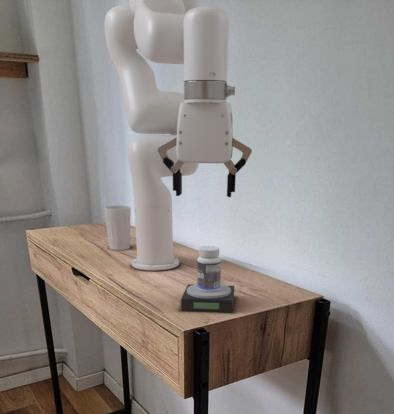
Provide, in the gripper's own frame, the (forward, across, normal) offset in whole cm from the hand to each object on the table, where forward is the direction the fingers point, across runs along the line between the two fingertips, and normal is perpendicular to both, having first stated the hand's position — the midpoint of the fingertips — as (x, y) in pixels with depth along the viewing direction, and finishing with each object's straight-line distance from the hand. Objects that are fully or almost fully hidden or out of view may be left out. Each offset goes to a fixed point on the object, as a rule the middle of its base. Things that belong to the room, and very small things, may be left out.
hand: (203, 195), depth 92 cm
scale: (+21, -1, +2) cm, 21 cm away
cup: (+23, +30, -48) cm, 62 cm away
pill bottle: (+18, -1, +2) cm, 18 cm away
